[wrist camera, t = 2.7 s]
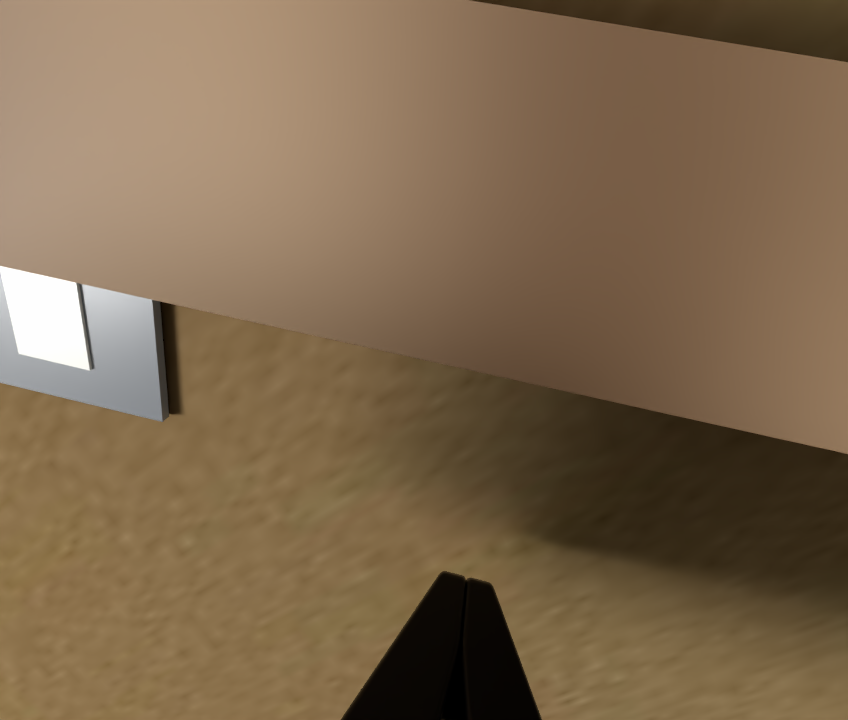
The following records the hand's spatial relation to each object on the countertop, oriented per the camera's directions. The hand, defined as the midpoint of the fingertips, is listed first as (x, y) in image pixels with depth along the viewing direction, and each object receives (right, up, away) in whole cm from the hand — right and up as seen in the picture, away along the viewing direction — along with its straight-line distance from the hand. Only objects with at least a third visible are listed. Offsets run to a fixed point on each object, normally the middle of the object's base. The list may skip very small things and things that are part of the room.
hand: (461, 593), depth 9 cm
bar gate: (+1, +6, -3) cm, 6 cm away
